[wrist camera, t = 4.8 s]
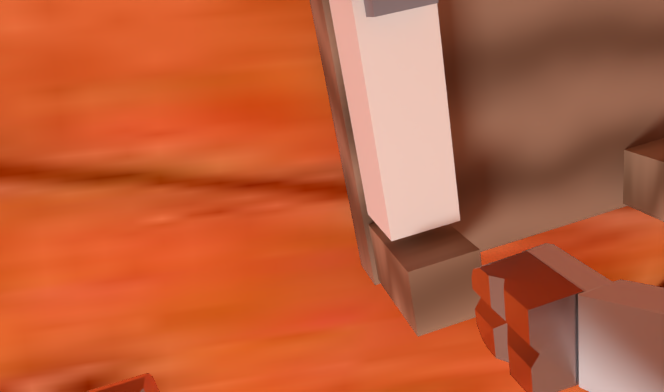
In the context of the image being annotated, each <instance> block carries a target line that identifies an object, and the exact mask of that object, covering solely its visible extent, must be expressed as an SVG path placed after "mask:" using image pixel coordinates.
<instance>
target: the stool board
mask: <svg viewBox="0 0 664 392" xmlns="http://www.w3.org/2000/svg"><path fill="white" fill-rule="evenodd" d="M438 2H439V3H437V7H438V16H439V26H440V35H441V44H442V54H443V63H444V72H445V82H446V91H447V100H448V110H449V119H450V129H451V138H452V147H453V157H454V166H455V175H456V185H457V194H458V203H459V213H460V221H457V222H454V223H451V224H448V225H444V226H441V227H438V228H434V229H431V230H428V231H424V232H421V233H418V234H414V235H411V236H408V237H404V238H401V239H398V240H394V241H391V240H390V239H389V238H388V237H387V236H386V234H385V233H384V232H383V231H382V230H381V229H380V228H379V226H378V225H377V224H376V223H375V222H374V221H373V220H372V218H371V217H370V216H369V215H368V212H367V207H366V201H365V196H364V190H363V185H362V179H361V174H360V168H359V163H358V157H357V152H356V146H355V141H354V135H353V130H352V124H351V119H350V113H349V108H348V102H347V97H346V91H345V86H344V80H343V75H342V69H341V64H340V58H339V53H338V48H337V42H336V37H335V31H334V26H333V20H332V15H331V9H330V4H329V0H310V3H311V8H312V14H313V19H314V24H315V29H316V34H317V39H318V44H319V49H320V55H321V60H322V65H323V70H324V75H325V80H326V85H327V90H328V95H329V101H330V106H331V111H332V116H333V121H334V126H335V131H336V136H337V142H338V147H339V152H340V157H341V162H342V167H343V172H344V177H345V182H346V188H347V193H348V198H349V203H350V208H351V213H352V218H353V223H354V228H355V234H356V239H357V244H358V249H359V254H360V259H361V264H362V266H363V268H364V269H365V271H366V272H367V274H368V275H369V277H370V278H371V280H372V281H373V283H374V284H375V285H377V284H380V283H381V284H382V286H383V287H384V289H385V290H386V291H387V293H388V294H389V296H390V297H391V299H392V300H393V301H394V303H395V304H396V306H397V307H398V309H399V310H400V312H401V313H402V314H403V316H404V317H405V319H406V320H407V322H408V323H409V324H410V326H411V327H412V329H413V330H414V332H415V333H416V334H417V336H421V335H424V334H427V333H430V332H433V331H436V330H439V329H442V328H445V327H448V326H450V325H453V324H456V323H459V322H462V321H465V320H468V319H471V318H474V317H476V315H475V308H476V306H477V304H478V302H479V300H480V298H481V297H480V296H479V295H478V294H477V293H476V292H475V291H474V290H473V289H472V278H471V277H472V272H473V269H475V268H478V267H481V266H482V265H481V255H480V252H482V251H485V250H488V249H491V248H495V247H498V246H501V245H504V244H507V243H511V242H514V241H517V240H520V239H523V238H526V237H530V236H533V235H536V234H539V233H542V232H545V231H549V230H552V229H555V228H558V227H561V226H565V225H568V224H571V223H574V222H577V221H580V220H584V219H587V218H590V217H593V216H596V215H600V214H603V213H606V212H609V211H612V210H615V209H619V208H622V207H625V206H630V207H632V208H634V209H636V210H639V211H641V212H643V213H645V214H648V215H650V216H652V217H654V218H657V219H659V220H661V221H663V222H664V0H438Z"/></svg>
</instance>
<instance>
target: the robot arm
mask: <svg viewBox="0 0 664 392" xmlns="http://www.w3.org/2000/svg"><path fill="white" fill-rule="evenodd" d="M471 278H472V289H473V290H474V291H475V292H476V293H477V294H478V295H479V296H480V297H481V298H480V300H479V302H478V304H477V306H476V308H475V315H476V322H477V326H478V329H479V332H480V335H481V337H482V339H483V341H484V343H485V344H486V346H487V348H488V349H489V350H490V352H491V353H492V354H493V355H494V356H495V357H496V358H498V359H500V360H503V361H506V362H509V367H510V375H511V376H512V377H513V378H514V379H515V380H516V381H517V382H518V384H519V385H520V386H521V387H522V388H523V389H524V390H525V391H526V392H558V391H561V390H564V389H567V388H570V387H573V386H576V385H578V384H579V387H580V388H582V389H585V390H587V391H589V392H664V287H658V286H653V285H647V284H642V283H637V282H631V281H626V280H618V281H615V282H612V281H610V280H609V279H607V278H606V277H604V276H602V275H601V274H599V273H598V272H596V271H594V270H593V269H591V268H590V267H588V266H587V265H585V264H583V263H582V262H580V261H579V260H577V259H576V258H574V257H572V256H571V255H569V254H568V253H566V252H565V251H563V250H561V249H560V248H558V247H557V246H555V245H553V244H548V243H545V244H542V245H540V246H537V247H534V248H531V249H528V250H526V251H523V252H522V253H519V254H516V255H513V256H510V257H507V258H504V259H501V260H498V261H495V262H492V263H489V264H486V265H483V266H481V267H478V268H475V269H473V272H472V277H471ZM87 392H160V391H159V389H158V387H157V385H156V383H155V380H154V378H153V376H151V375H150V374H149V373H146V374H142V375H139V376H136V377H132V378H129V379H126V380H122V381H119V382H116V383H112V384H109V385H106V386H102V387H99V388H96V389H92V390H89V391H87Z"/></svg>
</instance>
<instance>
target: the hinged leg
mask: <svg viewBox="0 0 664 392" xmlns="http://www.w3.org/2000/svg"><path fill="white" fill-rule="evenodd" d="M437 3H439V2H438V0H329V4H330V9H331V15H332V20H333V26H334V31H335V37H336V42H337V48H338V53H339V58H340V64H341V69H342V75H343V80H344V86H345V91H346V97H347V102H348V108H349V113H350V119H351V124H352V130H353V135H354V141H355V146H356V152H357V157H358V163H359V168H360V174H361V179H362V185H363V190H364V196H365V201H366V207H367V212H368V215H369V216H370V217H371V218H372V220H373V221H374V222H375V223H376V224H377V225H378V226H379V228H380V229H381V230H382V231H383V232H384V233H385V234H386V236H387V237H388V238H389V239H390V240H391V241H394V240H398V239H401V238H404V237H408V236H411V235H414V234H418V233H421V232H424V231H428V230H431V229H434V228H438V227H441V226H444V225H448V224H451V223H454V222H457V221H460V213H459V203H458V194H457V185H456V175H455V166H454V157H453V147H452V138H451V129H450V119H449V110H448V100H447V91H446V82H445V72H444V63H443V54H442V44H441V35H440V26H439V16H438V7H437Z"/></svg>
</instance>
